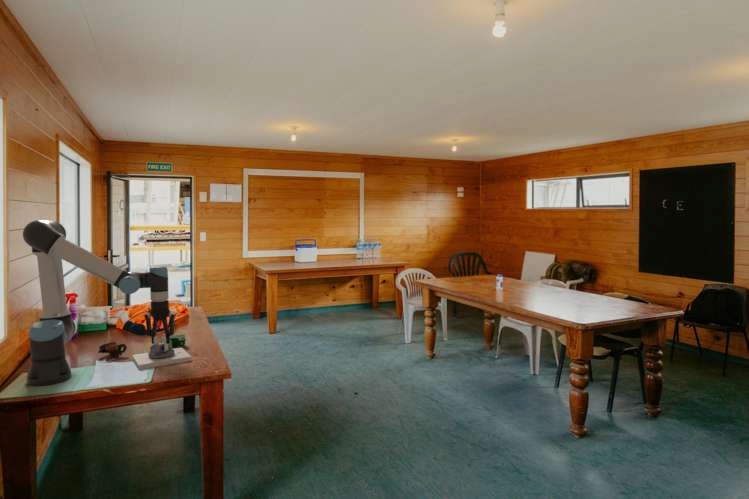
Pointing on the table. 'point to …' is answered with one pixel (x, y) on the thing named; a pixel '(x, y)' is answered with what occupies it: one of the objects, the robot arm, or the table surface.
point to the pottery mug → (112, 350)
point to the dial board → (146, 362)
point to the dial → (160, 351)
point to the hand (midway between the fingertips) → (161, 350)
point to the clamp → (176, 340)
